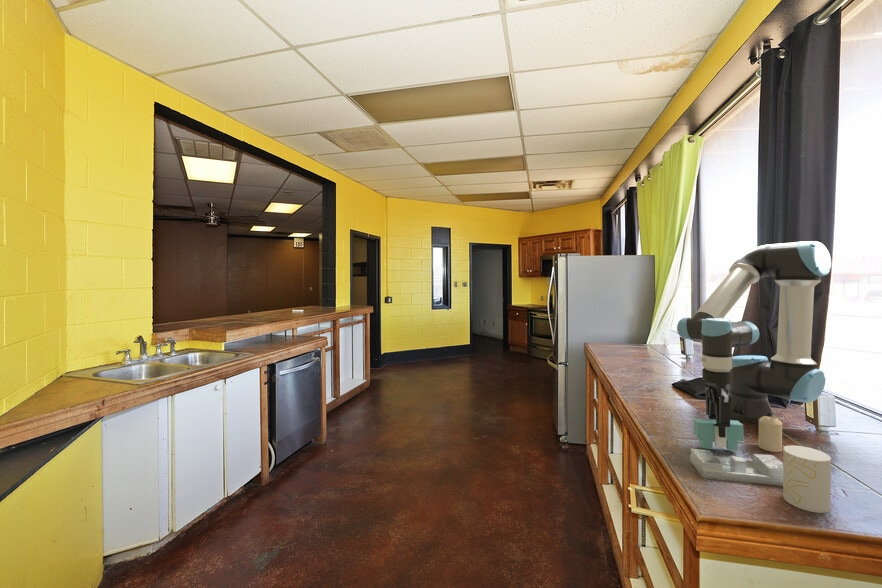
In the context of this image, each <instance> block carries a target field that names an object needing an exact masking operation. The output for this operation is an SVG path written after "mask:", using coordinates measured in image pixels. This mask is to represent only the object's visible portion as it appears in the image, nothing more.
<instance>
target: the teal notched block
mask: <svg viewBox="0 0 882 588" xmlns="http://www.w3.org/2000/svg"><path fill="white" fill-rule="evenodd" d="M692 421H693V435H694V436H695V437H696V438H697V439H698V441H699V445H700V446H701V447H702V448H703V449H706V450H710V449H711V450H714V447H713V446H714V444H713V443H714V441H713V439H715V426H714V424H716V420H715V419H709V418H696V417H694V418H693V420H692ZM726 441H727V447H725V449H726V450H728V451H738V449H739V447H738V445H739V444H738V443H739V442H744V424H743V423H742V422H741V421H738V420H735V419H730V427H726Z"/></svg>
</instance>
